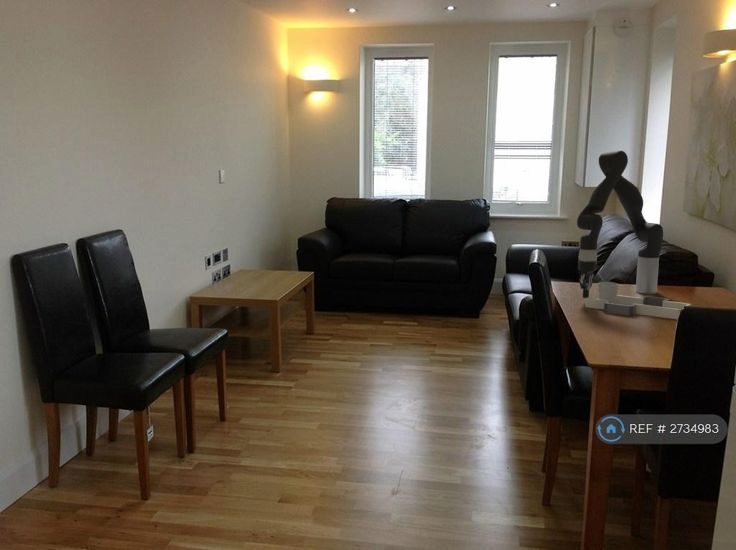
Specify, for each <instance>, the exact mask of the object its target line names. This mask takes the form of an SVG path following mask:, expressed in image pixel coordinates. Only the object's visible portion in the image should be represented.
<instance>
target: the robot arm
mask: <svg viewBox="0 0 736 550" xmlns="http://www.w3.org/2000/svg"><path fill="white" fill-rule="evenodd" d="M628 161H629V158H628V155H627V153H626V151H624V150H614V151H606V152H602V153H601V154H600V155H599V157H598V166H599V168H600V171H601V172H602V173H603V175H604V177H605V178H604V179H603V180H602V181H601V182H600V183H599V184H598V185H597V186H596V187H595V189H594V190H593V192H592V194H591V196H590V198H589V201H588V203H587V204H586V206H585V207H584V208H583V209H582V211H581V212H579V215H578V217H577V220H576V225H577V227H578V229H580V230H584V231H585V230H586V231H590V232H589V233H588V234H585V235H582V236H581V237H580V239H579V240H580V243H579V252H578V268H577V269H578V270H580V271H581V274H580V278H579V279H578V283H579V286H580V289H582V299H586V298H590V289H591V288H592V286H593V283H594V279H595V275H593V272H594V271H595V272H596V270H597V264H598V263H597V260H598V239H599V236H600V233H601V229H602V227H603V221H604V220H603V217H602V216H601V215H600V214H599V213H602V212H603V211H604V209H605V208H606V205H607V203H608V201H609V197H610V195H611V193H612V191H614V192H615V195H616V196H617V198H618V201H619V202H620V204H621V206H622V208H623V210H624V211H625V214H626V216H627V217H628V220H629V221H630V223H631V224H630V225H631V226H632V229H633V232H634V234H635V236H636V238H637V240H638V241H640V242H643V243H646V247H644V248H642V249H639V250H638V253H637V255H638V256H637V266H636V282H635V283H636V284H635V292H636V293H638V294H644V295H645V294H646V295H653V294H657V290H658V280H659V279H658V277H659V266H660V265H659V261H660V254H661V251H662V246H663V239H664V228H663V226H662V225H661V224H659V223H654V222H648V221H647V220H646V219H645V218H644V215H643V209H644V199H643V196H642V194H641V193H640V189H639V188H638V187H637V186H636V185H635V184H634V183H632V182H631V181H630V180H628V179H627V178H625V177H624V176H623V173H624V172H625V171H626V169H627V165H628V163H629V162H628Z"/></svg>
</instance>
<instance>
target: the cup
mask: <svg viewBox="0 0 736 550" xmlns="http://www.w3.org/2000/svg"><path fill="white" fill-rule="evenodd" d="M597 290H598V293H599V299H603V300H611V301H612V303H613V304H614V303H615V301H616V297H617V295H618V290H619V283H616V282H614V281H613V282H612V281H600V282H598V289H597Z"/></svg>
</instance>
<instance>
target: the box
mask: <svg viewBox="0 0 736 550" xmlns="http://www.w3.org/2000/svg"><path fill="white" fill-rule="evenodd" d="M684 306H691V307H692V303H687V302H686V303H685V302H678V301H670V298H667V297H658V296H650V295H649V296H648V295H643V296H642V297H638V296H637V297H635V296H629V295H620V294H617V297H616V301H615V303H614V304H613V303H612V301H611V300H603V299H599V292H596V294H595V297H594V298H593V297H588V298H585V305H584V307H585V308H591V309H599V310H603V313H606V314H612V315H619V314H620V315H621V316H628V317H634V316H635V315H643V316H648V317H649V316H650V317H656V318H657V317H658V318H663V319H672V320H678V319H677V318H678V315H679V312H680V310H681V308H682V307H684Z"/></svg>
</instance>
